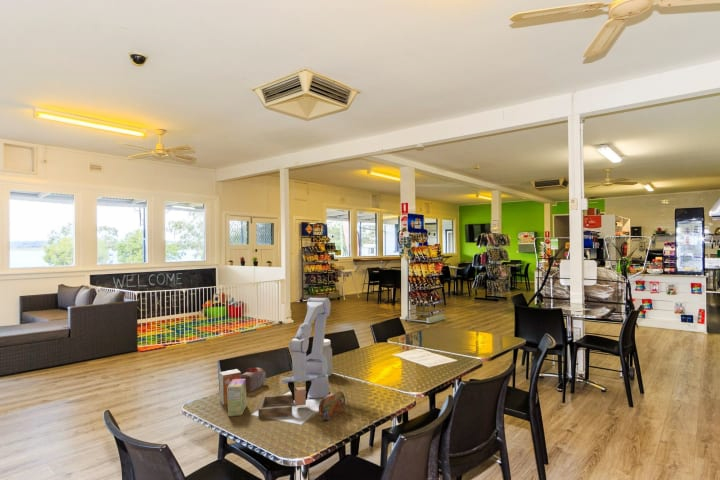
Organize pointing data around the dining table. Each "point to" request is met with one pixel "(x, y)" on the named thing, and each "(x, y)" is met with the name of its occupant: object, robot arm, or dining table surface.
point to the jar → (327, 356)
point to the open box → (275, 411)
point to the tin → (331, 405)
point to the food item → (254, 378)
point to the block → (300, 396)
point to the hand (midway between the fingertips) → (300, 399)
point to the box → (236, 397)
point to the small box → (227, 383)
